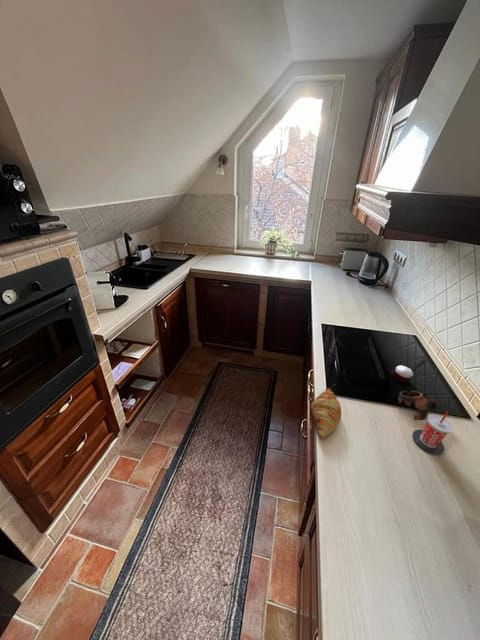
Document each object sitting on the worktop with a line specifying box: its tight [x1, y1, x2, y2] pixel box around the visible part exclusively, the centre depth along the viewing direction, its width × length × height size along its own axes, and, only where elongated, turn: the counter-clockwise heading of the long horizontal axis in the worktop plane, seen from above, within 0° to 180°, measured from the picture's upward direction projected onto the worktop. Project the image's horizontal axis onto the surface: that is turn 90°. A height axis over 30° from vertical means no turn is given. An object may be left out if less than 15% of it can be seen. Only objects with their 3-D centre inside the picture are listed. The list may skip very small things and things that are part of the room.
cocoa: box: [390, 357, 428, 383], centre depth 102 cm, size 10×6×12 cm, turn 54°
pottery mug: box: [397, 390, 439, 422], centre depth 91 cm, size 12×10×8 cm
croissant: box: [310, 387, 342, 439], centre depth 88 cm, size 21×10×8 cm, turn 159°
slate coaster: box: [412, 429, 445, 456], centre depth 81 cm, size 9×9×1 cm
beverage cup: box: [420, 410, 453, 448], centre depth 77 cm, size 6×6×14 cm
